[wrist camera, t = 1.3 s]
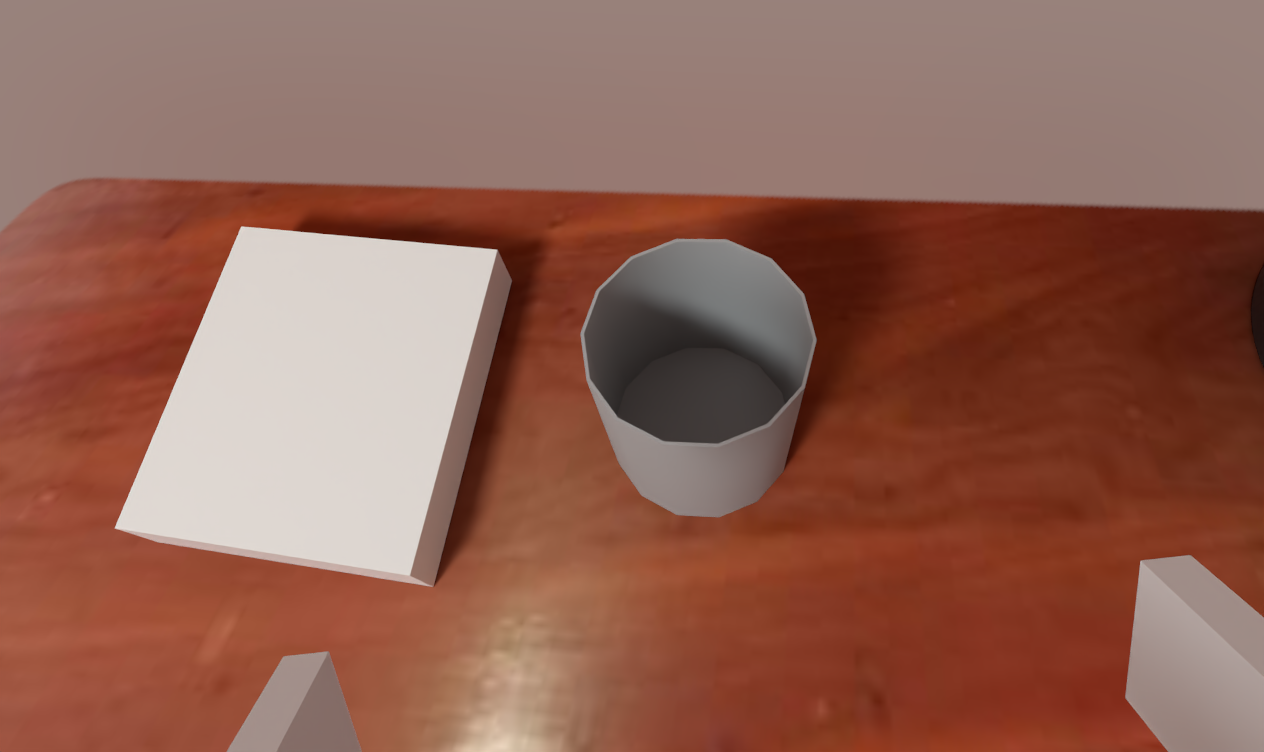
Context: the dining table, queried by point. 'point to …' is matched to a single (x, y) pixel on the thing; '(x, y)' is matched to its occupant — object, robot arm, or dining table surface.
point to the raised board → (326, 404)
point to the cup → (699, 372)
